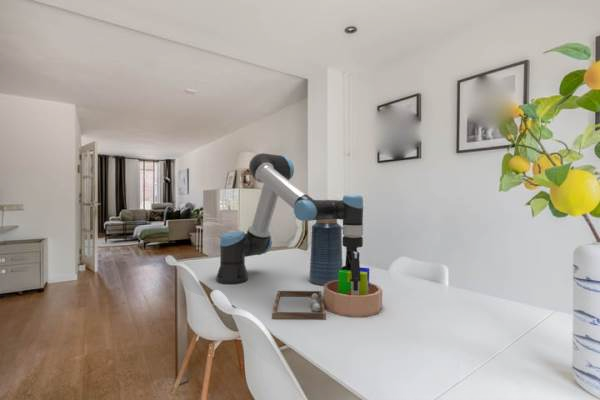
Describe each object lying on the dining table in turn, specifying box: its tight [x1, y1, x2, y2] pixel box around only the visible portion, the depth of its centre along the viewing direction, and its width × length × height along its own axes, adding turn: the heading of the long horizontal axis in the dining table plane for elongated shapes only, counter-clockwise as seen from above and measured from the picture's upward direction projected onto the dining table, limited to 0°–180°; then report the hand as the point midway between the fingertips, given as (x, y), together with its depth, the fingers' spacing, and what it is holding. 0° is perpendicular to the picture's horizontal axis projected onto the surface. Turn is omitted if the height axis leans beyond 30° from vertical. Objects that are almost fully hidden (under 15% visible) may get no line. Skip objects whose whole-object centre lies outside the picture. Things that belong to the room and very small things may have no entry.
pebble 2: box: [309, 299, 319, 307], centre depth 111 cm, size 3×3×3 cm
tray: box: [271, 290, 327, 320], centre depth 112 cm, size 24×18×2 cm
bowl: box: [323, 280, 383, 318], centre depth 113 cm, size 21×21×7 cm
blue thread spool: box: [308, 219, 344, 286], centre depth 146 cm, size 16×16×32 cm
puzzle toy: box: [338, 265, 370, 295], centre depth 113 cm, size 10×10×10 cm
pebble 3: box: [311, 302, 321, 312], centre depth 107 cm, size 3×3×3 cm
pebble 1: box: [310, 293, 319, 301], centre depth 118 cm, size 3×3×3 cm
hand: (352, 293), depth 113 cm, fingers closed on puzzle toy, 12 cm apart
